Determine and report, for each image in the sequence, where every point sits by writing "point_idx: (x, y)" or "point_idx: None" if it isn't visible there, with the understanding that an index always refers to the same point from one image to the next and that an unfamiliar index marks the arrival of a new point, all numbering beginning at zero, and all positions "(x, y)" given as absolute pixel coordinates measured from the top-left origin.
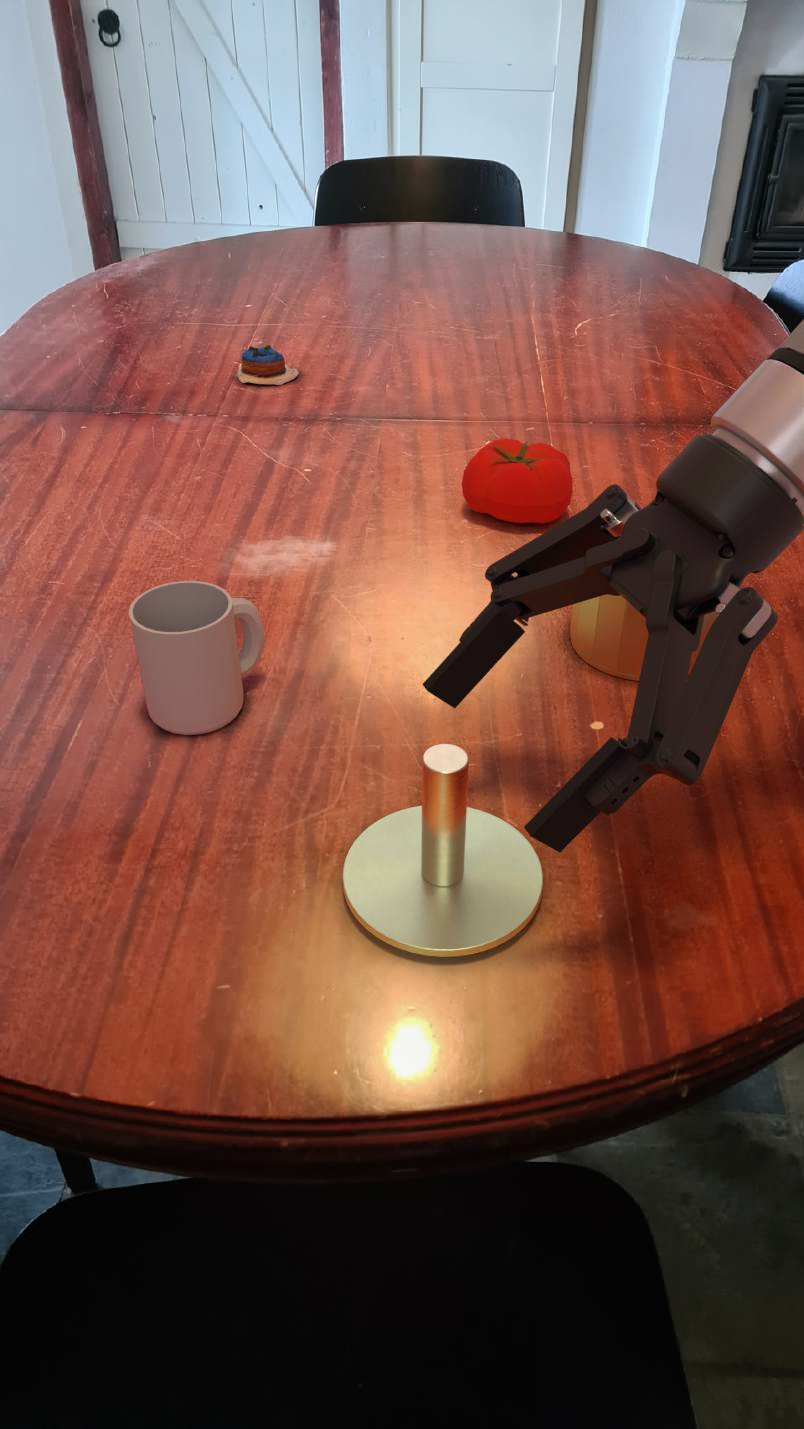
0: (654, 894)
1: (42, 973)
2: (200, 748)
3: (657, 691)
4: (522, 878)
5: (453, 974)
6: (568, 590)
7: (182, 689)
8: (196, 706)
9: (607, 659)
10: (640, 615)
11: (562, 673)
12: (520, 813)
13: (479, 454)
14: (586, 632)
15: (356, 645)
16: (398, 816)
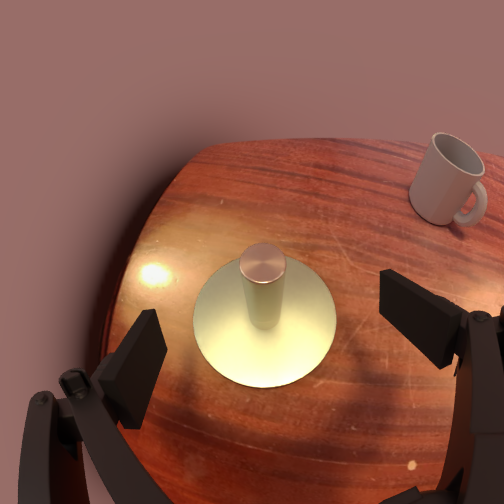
0: (219, 458)
1: (251, 147)
2: (400, 202)
3: (86, 446)
4: (243, 369)
5: (190, 308)
6: (462, 412)
7: (420, 174)
8: (417, 188)
9: None
10: None
11: None
12: (327, 392)
13: None
14: None
15: (495, 296)
16: (326, 296)
